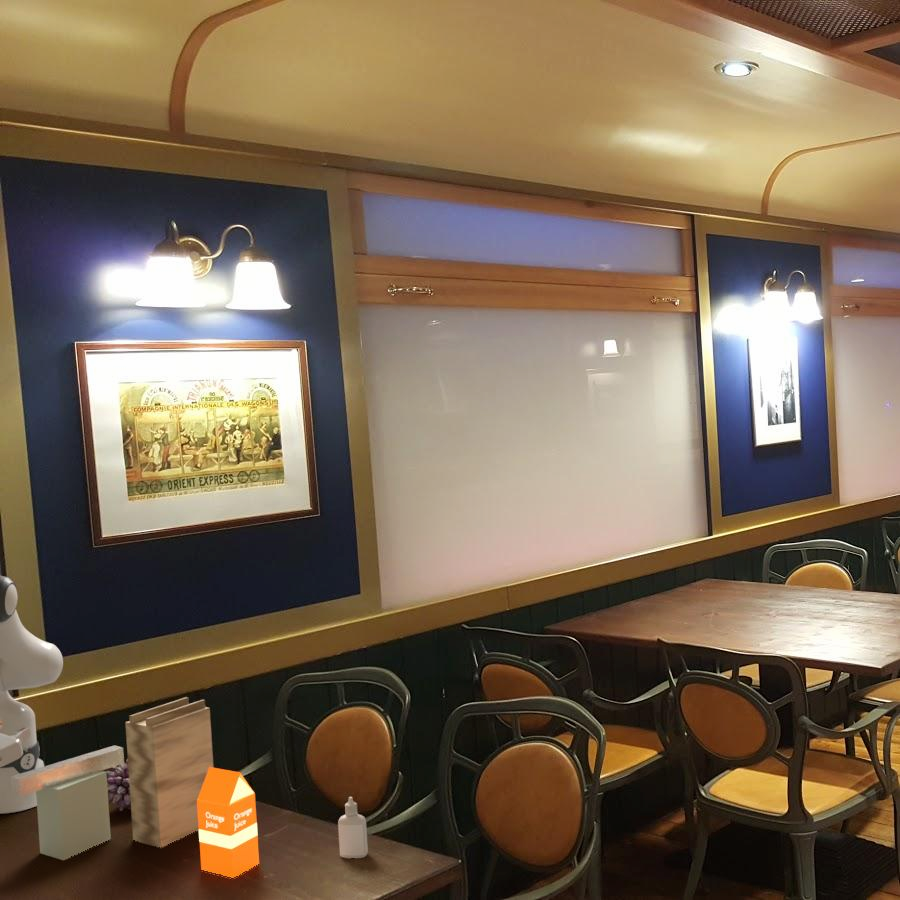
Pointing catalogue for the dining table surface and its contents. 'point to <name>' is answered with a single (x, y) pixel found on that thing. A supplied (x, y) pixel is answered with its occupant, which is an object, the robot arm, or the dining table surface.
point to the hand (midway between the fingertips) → (14, 726)
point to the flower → (119, 786)
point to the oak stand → (167, 769)
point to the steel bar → (66, 770)
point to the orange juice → (227, 824)
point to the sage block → (73, 816)
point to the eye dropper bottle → (352, 832)
